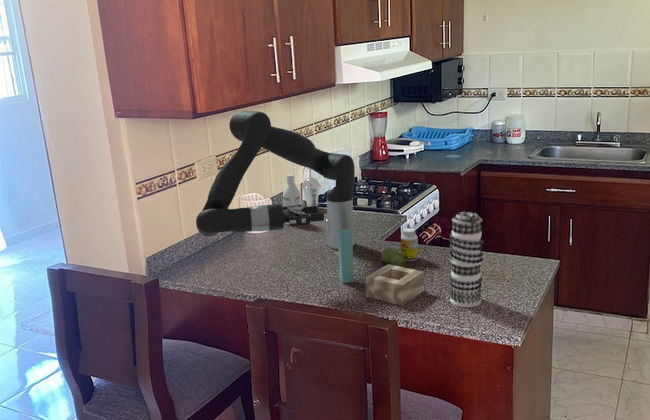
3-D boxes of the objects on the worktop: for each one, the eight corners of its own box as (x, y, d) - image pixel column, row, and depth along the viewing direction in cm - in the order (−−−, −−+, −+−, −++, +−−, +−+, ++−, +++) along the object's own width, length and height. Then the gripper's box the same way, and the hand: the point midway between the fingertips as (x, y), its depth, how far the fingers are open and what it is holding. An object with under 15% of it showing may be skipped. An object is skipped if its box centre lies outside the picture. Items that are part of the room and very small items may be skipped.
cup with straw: (325, 206, 274) (322, 162, 269) (316, 212, 266) (314, 166, 261) (307, 205, 277) (305, 161, 272) (298, 210, 269) (296, 165, 264)
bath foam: (300, 219, 255) (297, 172, 250) (302, 224, 249) (299, 176, 243) (283, 221, 254) (280, 174, 249) (285, 226, 248) (282, 177, 242)
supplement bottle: (398, 257, 207) (397, 228, 204) (413, 255, 208) (413, 226, 205) (405, 263, 201) (404, 233, 199) (420, 260, 203) (420, 231, 200)
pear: (391, 243, 204) (411, 256, 196) (390, 257, 206) (409, 270, 198) (378, 247, 201) (397, 260, 193) (376, 261, 203) (395, 274, 195)
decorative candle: (443, 296, 174) (443, 211, 168) (473, 292, 176) (474, 208, 169) (456, 309, 166) (457, 220, 159) (488, 305, 168) (490, 216, 161)
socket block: (366, 296, 177) (365, 276, 175) (388, 282, 186) (388, 264, 184) (402, 305, 170) (402, 285, 168) (423, 291, 179) (423, 271, 177)
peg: (342, 283, 187) (340, 233, 183) (339, 279, 191) (337, 229, 186) (353, 281, 188) (352, 231, 184) (350, 277, 191) (349, 228, 187)
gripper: (268, 211, 171) (325, 206, 174) (262, 199, 184) (315, 195, 188) (270, 237, 173) (326, 231, 176) (264, 223, 186) (316, 219, 189)
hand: (320, 212), depth 182 cm, fingers open, 8 cm apart
